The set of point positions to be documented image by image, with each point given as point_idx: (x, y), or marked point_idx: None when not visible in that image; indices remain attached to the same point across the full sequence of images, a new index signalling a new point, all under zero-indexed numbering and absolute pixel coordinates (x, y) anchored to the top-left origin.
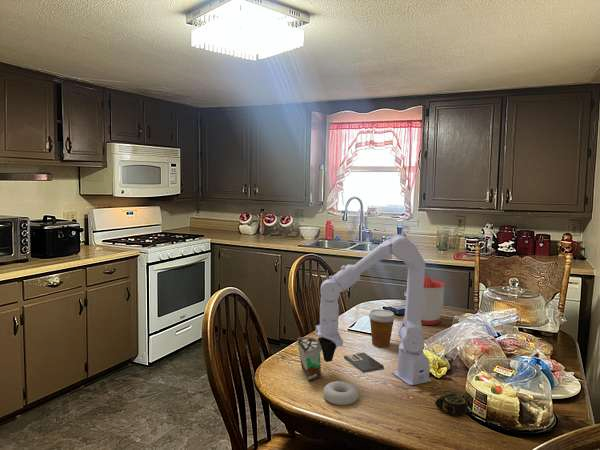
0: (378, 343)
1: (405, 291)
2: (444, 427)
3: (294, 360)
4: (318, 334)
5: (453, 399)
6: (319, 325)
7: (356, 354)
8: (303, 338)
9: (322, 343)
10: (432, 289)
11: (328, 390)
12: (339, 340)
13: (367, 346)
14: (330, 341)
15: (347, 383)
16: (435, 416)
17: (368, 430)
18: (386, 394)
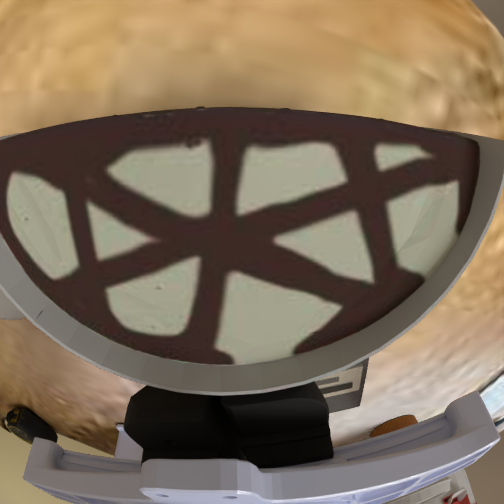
0: (384, 433)
1: (466, 493)
2: None
3: (442, 123)
4: (157, 492)
5: (24, 435)
6: (477, 455)
7: (357, 390)
8: (471, 223)
9: (182, 395)
10: None
11: None
12: (35, 485)
13: (403, 407)
14: (144, 455)
15: (7, 304)
16: (4, 390)
17: None
18: (57, 371)
